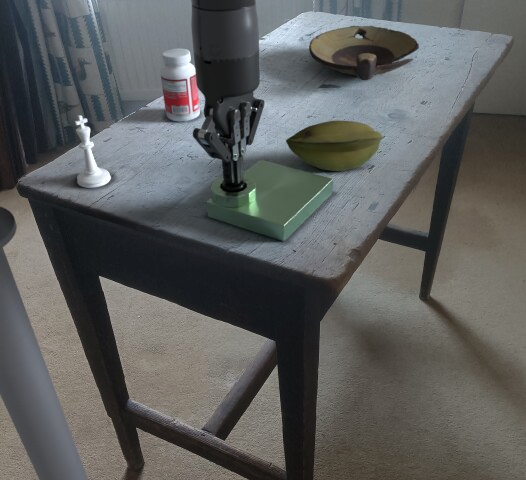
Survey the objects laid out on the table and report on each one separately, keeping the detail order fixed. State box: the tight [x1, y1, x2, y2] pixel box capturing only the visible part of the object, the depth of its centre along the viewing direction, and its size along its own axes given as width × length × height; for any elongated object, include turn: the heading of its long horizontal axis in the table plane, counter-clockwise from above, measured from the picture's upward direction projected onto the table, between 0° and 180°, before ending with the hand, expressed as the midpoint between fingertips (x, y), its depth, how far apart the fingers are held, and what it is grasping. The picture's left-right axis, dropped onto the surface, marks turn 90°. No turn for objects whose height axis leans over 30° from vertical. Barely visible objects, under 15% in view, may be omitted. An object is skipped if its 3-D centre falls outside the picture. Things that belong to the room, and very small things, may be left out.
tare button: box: [222, 180, 245, 192], centre depth 79 cm, size 3×3×2 cm
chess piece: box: [74, 114, 112, 189], centre depth 85 cm, size 5×5×10 cm
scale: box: [206, 159, 334, 242], centre depth 81 cm, size 14×12×4 cm
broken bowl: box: [308, 25, 420, 82], centre depth 120 cm, size 22×30×8 cm
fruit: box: [285, 120, 384, 172], centre depth 89 cm, size 11×12×7 cm
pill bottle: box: [160, 47, 201, 122], centre depth 103 cm, size 6×6×11 cm
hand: (233, 181), depth 78 cm, fingers closed
